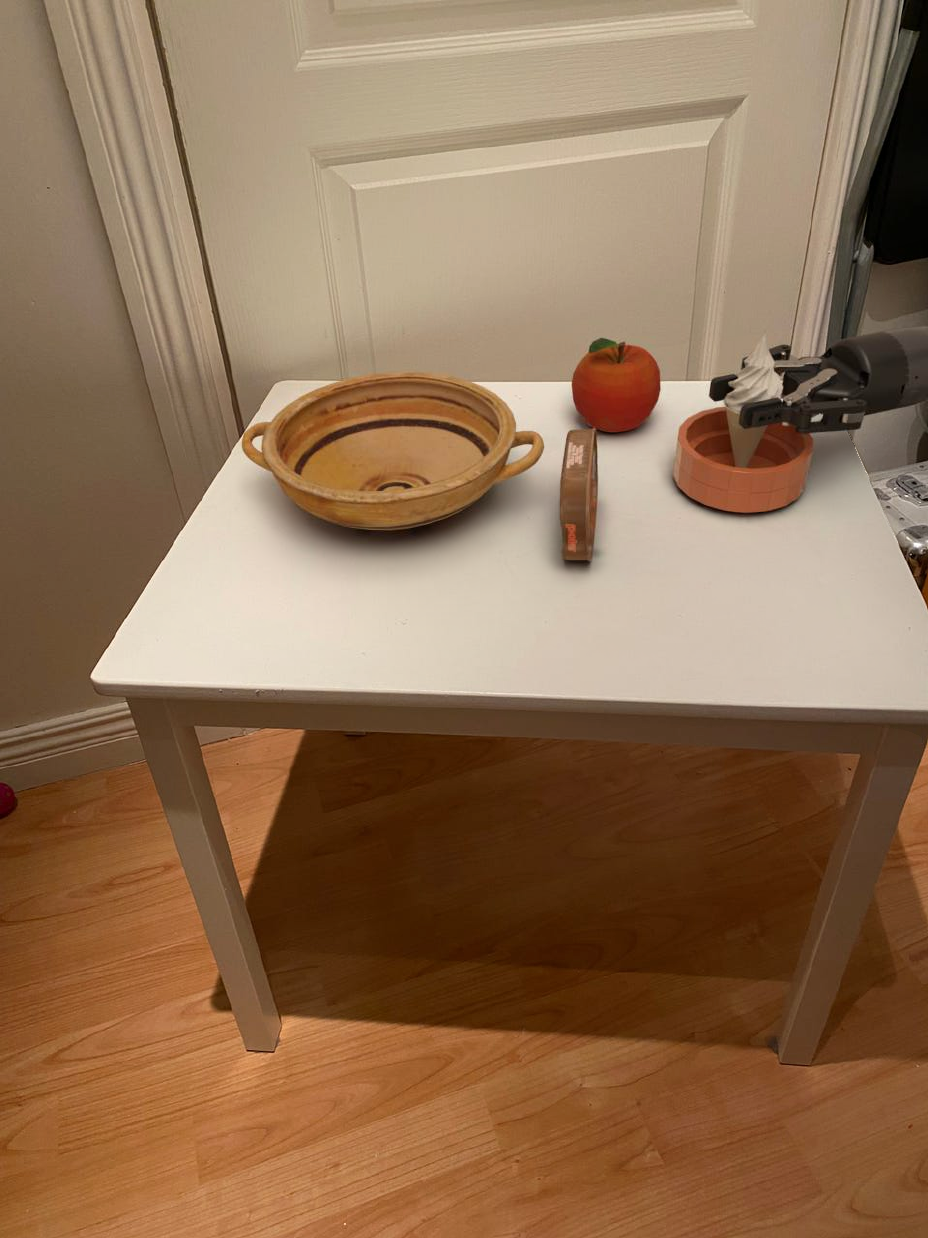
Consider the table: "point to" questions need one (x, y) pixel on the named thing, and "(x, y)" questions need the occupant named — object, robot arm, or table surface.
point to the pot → (722, 485)
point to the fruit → (615, 386)
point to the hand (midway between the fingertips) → (727, 403)
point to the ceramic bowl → (391, 449)
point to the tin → (579, 494)
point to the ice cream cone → (751, 399)
